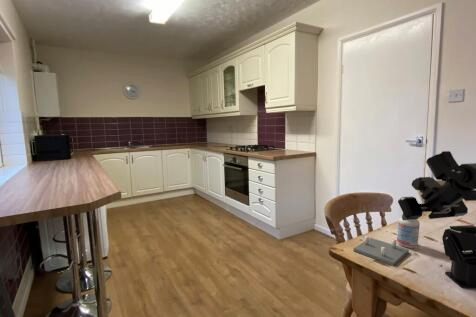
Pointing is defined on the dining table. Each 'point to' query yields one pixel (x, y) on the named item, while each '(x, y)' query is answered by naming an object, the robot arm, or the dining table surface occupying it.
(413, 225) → the pill bottle
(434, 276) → the dining table surface
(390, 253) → the pin tray
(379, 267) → the dining table surface
